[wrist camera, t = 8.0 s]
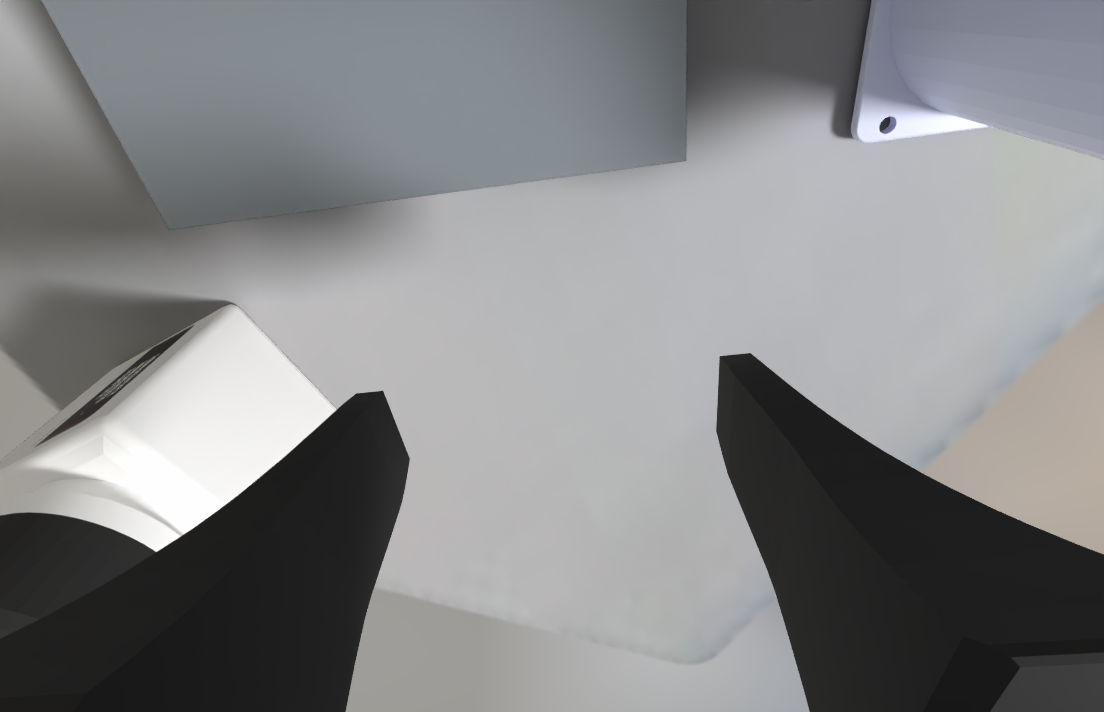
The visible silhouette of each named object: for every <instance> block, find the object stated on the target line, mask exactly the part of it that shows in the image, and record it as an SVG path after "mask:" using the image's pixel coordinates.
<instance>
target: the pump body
mask: <svg viewBox="0 0 1104 712" xmlns="http://www.w3.org/2000/svg"><path fill="white" fill-rule="evenodd" d="M41 1H42V3H43V4H44V6H45V8H46V10H47V12H48V13H49V15H50V17H51V19H52V21H53V22H54V24H55V26H56V28H57V30H58V31H59V33H60V35H61V37H62V39H63V40H64V42H65V44H66V46H67V48H68V49H69V51H70V53H71V55H72V57H73V58H74V60H75V62H76V64H77V66H78V67H79V69H80V71H81V73H82V75H83V76H84V78H85V80H86V82H87V84H88V85H89V87H90V89H91V91H92V93H93V94H94V96H95V98H96V100H97V102H98V103H99V105H100V107H101V109H102V111H103V112H104V114H105V116H106V118H107V120H108V121H109V123H110V125H111V127H112V129H113V130H114V132H115V134H116V136H117V138H118V139H119V141H120V143H121V145H122V147H123V148H124V150H125V152H126V154H127V156H128V157H129V159H130V161H131V163H132V165H133V166H134V168H135V170H136V172H137V174H138V175H139V177H140V179H141V181H142V183H143V184H144V186H145V188H146V190H147V192H148V193H149V195H150V197H151V199H152V201H153V202H154V204H155V206H156V208H157V210H158V211H159V213H160V215H161V217H162V219H163V220H164V222H165V224H166V226H167V228H168V229H169V230H172V229H180V228H187V227H195V226H202V225H210V224H217V223H225V222H232V221H240V220H247V219H255V218H262V217H270V216H277V215H285V214H292V213H300V212H307V211H315V210H322V209H330V208H337V207H345V206H352V205H360V204H367V203H375V202H382V201H390V200H397V199H405V198H412V197H420V196H427V195H435V194H442V193H450V192H457V191H465V190H472V189H480V188H487V187H495V186H502V185H510V184H517V183H525V182H532V181H540V180H547V179H555V178H562V177H570V176H577V175H585V174H592V173H600V172H607V171H615V170H622V169H630V168H637V167H645V166H652V165H660V164H667V163H675V162H682V161H686V70H687V0H41Z"/></svg>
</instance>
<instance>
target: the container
mask: <svg viewBox="0 0 1104 712" xmlns="http://www.w3.org/2000/svg"><path fill="white" fill-rule="evenodd" d="M336 410H337V409H336V408H335V407H334V406H333V405H332V404H331V403H330V402H329V401H328V400H327V399H326V398H325V397H324V396H323V395H322V394H321V393H320V391H319V390H318V389H317V388H316V387H315V386H314V385H313V384H312V383H311V382H310V381H309V380H308V379H307V378H306V377H305V376H304V375H303V374H302V373H301V372H300V371H299V369H298V368H297V367H296V366H295V365H294V364H293V363H292V362H291V361H290V360H289V359H288V358H287V357H286V356H285V355H284V354H283V353H282V352H281V351H280V350H279V349H278V348H277V346H276V345H275V344H274V343H273V342H272V341H271V340H270V339H269V338H268V337H267V336H266V335H265V334H264V333H263V332H262V331H261V330H260V329H259V328H258V327H257V326H256V325H255V323H254V322H253V321H252V320H251V319H250V318H249V317H248V316H247V315H246V314H245V313H244V312H243V311H242V310H241V309H240V308H239V307H237V306H236V305H232V304H230V305H226V306H224V307H222V308H220V309H218V310H217V311H215V312H213V313H211V314H210V315H208V316H206V317H204V318H202V319H201V320H199V321H197V322H195V323H194V324H192V325H190V326H188V327H186V328H185V329H183V330H181V331H179V332H178V333H176V334H174V335H172V336H170V337H169V338H167V339H165V340H163V341H162V342H160V343H158V344H156V345H154V346H153V347H151V348H149V349H147V350H146V351H144V352H142V353H140V354H138V355H137V356H135V357H133V358H131V359H130V360H128V361H126V362H124V363H122V364H121V365H119V366H117V367H115V368H114V369H112V370H111V371H110V372H108V373H107V374H106V375H105V376H103V377H102V378H101V379H100V380H98V381H97V382H96V383H95V384H94V385H92V386H91V387H90V388H89V389H87V390H86V391H85V392H84V393H83V394H81V395H80V396H79V397H78V398H76V399H75V400H74V401H73V402H71V403H70V404H69V405H68V406H67V407H65V408H64V409H63V410H62V411H60V412H59V413H58V414H57V415H55V416H54V417H53V418H52V419H51V420H50V421H48V422H47V423H46V424H44V425H43V426H42V427H41V428H40V429H38V430H37V431H36V432H35V433H33V434H32V435H31V436H30V437H28V438H27V439H26V440H25V441H24V442H22V443H21V444H20V445H19V446H17V447H16V448H15V449H14V450H13V451H11V452H10V453H9V454H8V455H6V456H5V457H4V458H3V459H1V461H0V639H1V638H3V637H5V636H7V635H9V634H11V633H13V632H15V631H17V630H19V629H21V628H23V627H25V626H27V625H29V624H31V623H33V622H35V621H37V620H39V619H41V618H43V617H45V616H47V615H48V614H50V613H52V612H54V611H56V610H58V609H60V608H62V607H63V606H65V605H67V604H69V603H71V602H73V601H74V600H76V599H78V598H80V597H82V596H84V595H85V594H87V593H89V592H91V591H93V590H94V589H96V588H98V587H100V586H101V585H103V584H105V583H107V582H108V581H110V580H112V579H114V578H115V577H117V576H119V575H120V574H122V573H124V572H125V571H127V570H129V569H130V568H132V567H134V566H135V565H137V564H138V563H140V562H141V561H143V560H145V559H146V558H148V557H149V556H151V555H152V554H154V553H156V552H157V551H159V550H160V549H162V548H163V547H165V546H167V545H168V544H170V543H171V542H173V541H175V540H176V539H178V538H179V537H181V536H182V535H184V534H185V533H187V532H188V531H190V530H191V529H193V528H194V527H195V526H197V525H198V524H200V523H201V522H202V521H204V520H205V519H207V518H208V517H209V516H211V515H212V514H214V513H215V512H216V511H218V510H219V509H220V508H222V507H223V506H224V505H226V504H227V503H228V502H230V501H231V500H232V499H234V498H235V497H236V496H238V495H239V494H240V493H241V492H243V491H244V490H245V489H246V488H247V487H249V486H250V485H251V484H252V483H253V482H255V481H256V480H257V479H258V478H260V477H261V476H262V475H263V474H264V473H266V472H267V471H268V470H269V469H270V468H272V467H273V466H274V465H275V464H276V463H278V462H279V461H280V460H281V459H282V458H284V457H285V456H286V455H287V454H288V453H289V452H290V451H291V450H293V449H294V448H295V447H296V446H297V445H298V444H299V443H300V442H302V441H303V440H304V439H305V438H306V437H307V436H308V435H309V434H310V433H312V432H313V431H314V430H315V429H316V428H317V427H318V426H319V425H320V424H322V423H323V422H324V421H325V420H326V419H327V418H328V417H329V416H330V415H332V414H333V413H334V412H335V411H336Z"/></svg>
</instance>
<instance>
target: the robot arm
mask: <svg viewBox="0 0 1104 712" xmlns="http://www.w3.org/2000/svg"><path fill="white" fill-rule="evenodd" d="M887 117H890V124H889V126H888V127H887V128H886V129H885V130H883V131H880V130H879V126H880V123H881V122H882V121H883V120H884V119H885V118H887ZM986 127H994V128H998V129H1001V130H1004V131H1008V132H1011V133H1015V134H1018V135H1021V136H1025V137H1028V138H1032V139H1035V140H1038V141H1042V142H1045V143H1049V144H1052V145H1055V146H1059V147H1062V148H1066V149H1069V150H1072V151H1076V152H1079V153H1082V154H1086V155H1089V156H1093V157H1096V158H1099V159H1103V160H1104V0H872V2H871V8H870V14H869V20H868V26H867V32H866V38H865V44H864V51H863V57H862V63H861V69H860V75H859V81H858V87H857V93H856V100H855V106H854V112H853V118H852V124H851V134H852V136H853V138H854V139H856V140H858V141H860V142H862V143H873V142H880V141H888V140H895V139H903V138H910V137H918V136H926V135H933V134H941V133H948V132H956V131H963V130H971V129H978V128H986ZM716 431H717V435H718V439H719V443H720V447H721V451H722V455H723V458H724V462H725V465H726V469H727V473H728V475H729V478H730V480H731V483H732V485H733V488H734V490H735V493H736V495H737V498H738V500H739V503H740V505H741V507H742V510H743V512H744V515H745V517H746V520H747V522H748V524H749V527H750V529H751V532H752V534H753V536H754V539H755V541H756V544H757V546H758V548H759V551H760V553H761V556H762V558H763V561H764V563H765V565H766V568H767V570H768V573H769V576H770V579H771V581H772V584H773V587H774V590H775V593H776V596H777V599H778V603H779V606H780V609H781V613H782V616H783V619H784V622H785V626H786V629H787V632H788V636H789V639H790V643H791V646H792V650H793V653H794V657H795V660H796V664H797V667H798V671H799V674H800V677H801V681H802V685H803V688H804V692H805V695H806V699H807V703H808V706H809V710H810V712H1104V554H1101V553H1098V552H1095V551H1093V550H1090V549H1087V548H1085V547H1082V546H1080V545H1077V544H1075V543H1072V542H1070V541H1067V540H1065V539H1062V538H1060V537H1058V536H1055V535H1053V534H1050V533H1048V532H1046V531H1043V530H1041V529H1038V528H1036V527H1034V526H1031V525H1029V524H1026V523H1024V522H1022V521H1020V520H1017V519H1015V518H1013V517H1011V516H1008V515H1006V514H1004V513H1002V512H999V511H997V510H995V509H993V508H991V507H988V506H986V505H984V504H982V503H980V502H978V501H976V500H974V499H972V498H970V497H968V496H966V495H964V494H962V493H959V492H957V491H955V490H953V489H951V488H949V487H947V486H945V485H943V484H941V483H940V482H938V481H936V480H934V479H932V478H930V477H928V476H926V475H924V474H923V473H921V472H919V471H917V470H916V469H914V468H912V467H910V466H909V465H907V464H905V463H903V462H901V461H900V460H898V459H896V458H894V457H893V456H891V455H889V454H887V453H886V452H884V451H883V450H881V449H879V448H878V447H876V446H874V445H873V444H871V443H870V442H868V441H867V440H865V439H864V438H862V437H861V436H859V435H858V434H856V433H855V432H853V431H852V430H850V429H849V428H847V427H846V426H844V425H843V424H841V423H840V422H838V421H837V420H835V419H834V418H833V417H831V416H830V415H828V414H827V413H826V412H824V411H823V410H821V409H820V408H819V407H817V406H816V405H815V404H813V403H812V402H811V401H809V400H808V399H807V398H805V397H804V396H803V395H802V394H800V393H799V392H798V391H796V390H795V389H794V388H793V387H791V386H790V385H789V384H788V383H786V382H785V381H784V380H783V379H781V378H780V377H779V376H778V375H776V374H775V373H774V372H773V371H772V370H770V369H769V368H768V367H767V366H765V365H764V364H763V363H762V362H761V361H759V360H758V359H757V358H756V357H754V356H753V355H752V354H751V353H748V354H738V355H728V356H720V364H719V386H718V408H717V430H716ZM409 460H410V459H409V456H408V453H407V451H406V448H405V446H404V443H403V441H402V438H401V436H400V433H399V430H398V428H397V425H396V423H395V420H394V418H393V415H392V413H391V410H390V407H389V405H388V402H387V400H386V397H385V395H384V392H383V391H378V392H368V393H358V394H355V395H354V396H353V397H351V398H350V399H349V400H348V401H346V402H345V403H344V404H343V405H342V406H341V407H339V408H338V409H337V410H336V411H335V412H334V413H333V414H332V415H330V416H329V417H328V418H327V419H326V420H325V421H324V422H323V423H322V424H320V425H319V426H318V427H317V428H316V429H315V430H314V431H313V432H312V433H310V434H309V435H308V436H307V437H306V438H305V439H304V440H303V441H302V442H300V443H299V444H298V445H297V446H296V447H295V448H294V449H293V450H291V451H290V452H289V453H288V454H287V455H286V456H285V457H284V458H282V459H281V460H280V461H279V462H278V463H276V464H275V465H274V466H273V467H272V468H270V469H269V470H268V471H267V472H266V473H264V474H263V475H262V476H261V477H260V478H258V479H257V480H256V481H255V482H253V483H252V484H251V485H250V486H249V487H247V488H246V489H245V490H244V491H243V492H241V493H240V494H239V495H238V496H236V497H235V498H234V499H232V500H231V501H230V502H228V503H227V504H226V505H224V506H223V507H222V508H220V509H219V510H218V511H216V512H215V513H214V514H212V515H211V516H209V517H208V518H207V519H205V520H204V521H202V522H201V523H200V524H198V525H197V526H195V527H194V528H193V529H191V530H190V531H188V532H187V533H185V534H184V535H182V536H181V537H179V538H178V539H176V540H175V541H173V542H171V543H170V544H168V545H167V546H165V547H163V548H162V549H160V550H159V551H157V552H156V553H154V554H152V555H151V556H149V557H148V558H146V559H145V560H143V561H141V562H140V563H138V564H137V565H135V566H134V567H132V568H130V569H129V570H127V571H125V572H124V573H122V574H120V575H119V576H117V577H115V578H114V579H112V580H110V581H108V582H107V583H105V584H103V585H101V586H100V587H98V588H96V589H94V590H93V591H91V592H89V593H87V594H85V595H84V596H82V597H80V598H78V599H76V600H74V601H73V602H71V603H69V604H67V605H65V606H63V607H62V608H60V609H58V610H56V611H54V612H52V613H50V614H48V615H47V616H45V617H43V618H41V619H39V620H37V621H35V622H33V623H31V624H29V625H27V626H25V627H23V628H21V629H19V630H17V631H15V632H13V633H11V634H9V635H7V636H5V637H3V638H1V639H0V712H345V711H346V706H347V701H348V696H349V691H350V686H351V680H352V675H353V670H354V665H355V660H356V656H357V651H358V647H359V642H360V638H361V633H362V629H363V624H364V620H365V616H366V612H367V609H368V605H369V601H370V598H371V594H372V591H373V589H374V586H375V583H376V580H377V577H378V574H379V571H380V568H381V565H382V562H383V559H384V556H385V553H386V550H387V547H388V544H389V541H390V538H391V535H392V531H393V528H394V525H395V522H396V519H397V516H398V513H399V510H400V506H401V503H402V499H403V494H404V489H405V484H406V479H407V472H408V466H409Z"/></svg>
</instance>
